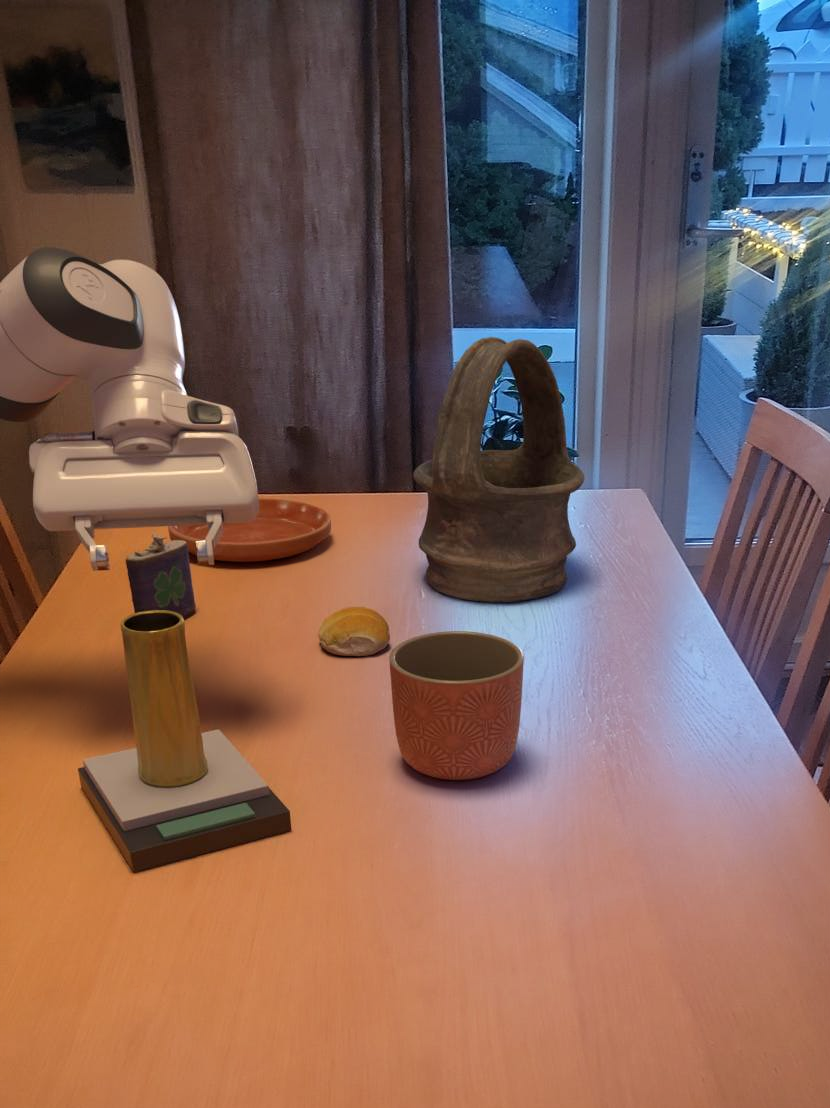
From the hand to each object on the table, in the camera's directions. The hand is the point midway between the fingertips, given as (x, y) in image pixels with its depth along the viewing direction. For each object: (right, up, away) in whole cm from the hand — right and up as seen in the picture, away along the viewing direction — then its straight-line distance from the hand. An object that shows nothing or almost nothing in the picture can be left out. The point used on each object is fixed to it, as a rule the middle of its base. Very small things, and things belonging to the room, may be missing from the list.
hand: (153, 565), depth 112 cm
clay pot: (+32, +10, +51) cm, 61 cm away
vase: (+2, -19, -2) cm, 20 cm away
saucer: (-3, +18, +64) cm, 66 cm away
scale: (+3, -22, -2) cm, 23 cm away
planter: (+28, -18, +6) cm, 34 cm away
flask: (-8, +2, +38) cm, 39 cm away
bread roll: (+15, -2, +32) cm, 35 cm away
